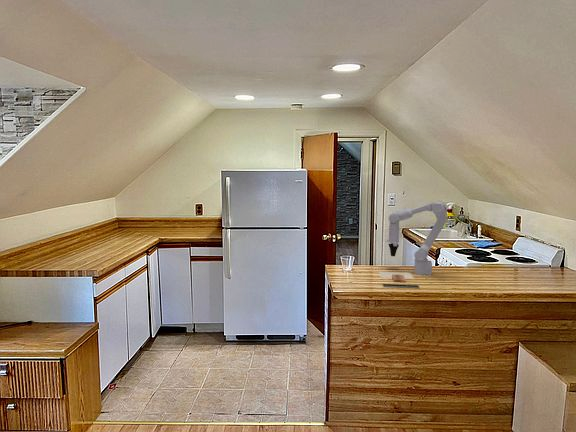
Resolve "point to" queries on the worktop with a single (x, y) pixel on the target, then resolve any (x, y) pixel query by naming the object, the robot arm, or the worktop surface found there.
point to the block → (398, 278)
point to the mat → (401, 286)
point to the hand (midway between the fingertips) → (393, 256)
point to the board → (389, 274)
